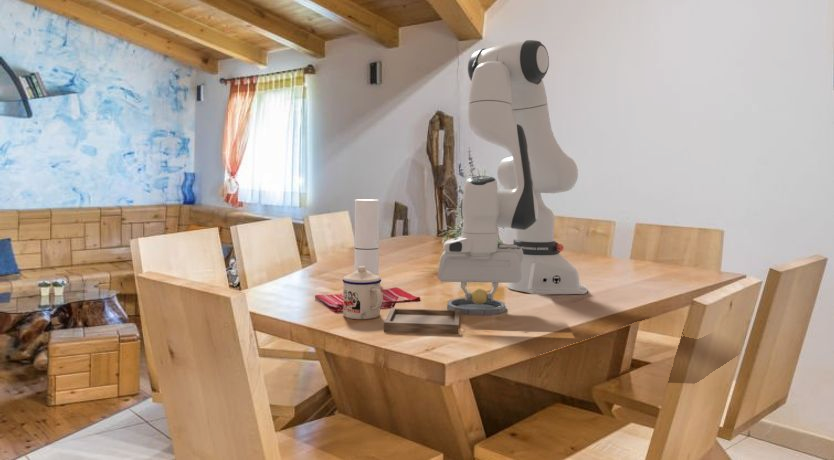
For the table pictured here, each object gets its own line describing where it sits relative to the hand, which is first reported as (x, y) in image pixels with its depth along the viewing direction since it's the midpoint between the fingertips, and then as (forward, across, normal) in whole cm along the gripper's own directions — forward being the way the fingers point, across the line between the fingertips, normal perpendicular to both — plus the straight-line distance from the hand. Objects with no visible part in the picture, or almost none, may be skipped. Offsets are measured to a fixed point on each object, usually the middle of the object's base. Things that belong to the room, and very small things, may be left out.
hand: (479, 300), depth 159 cm
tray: (+3, +13, +14) cm, 19 cm away
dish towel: (+4, +28, -8) cm, 30 cm away
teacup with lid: (+3, +27, +8) cm, 28 cm away
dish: (+3, +1, 0) cm, 3 cm away
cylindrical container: (+3, +32, -33) cm, 46 cm away
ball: (+1, 0, 0) cm, 1 cm away
